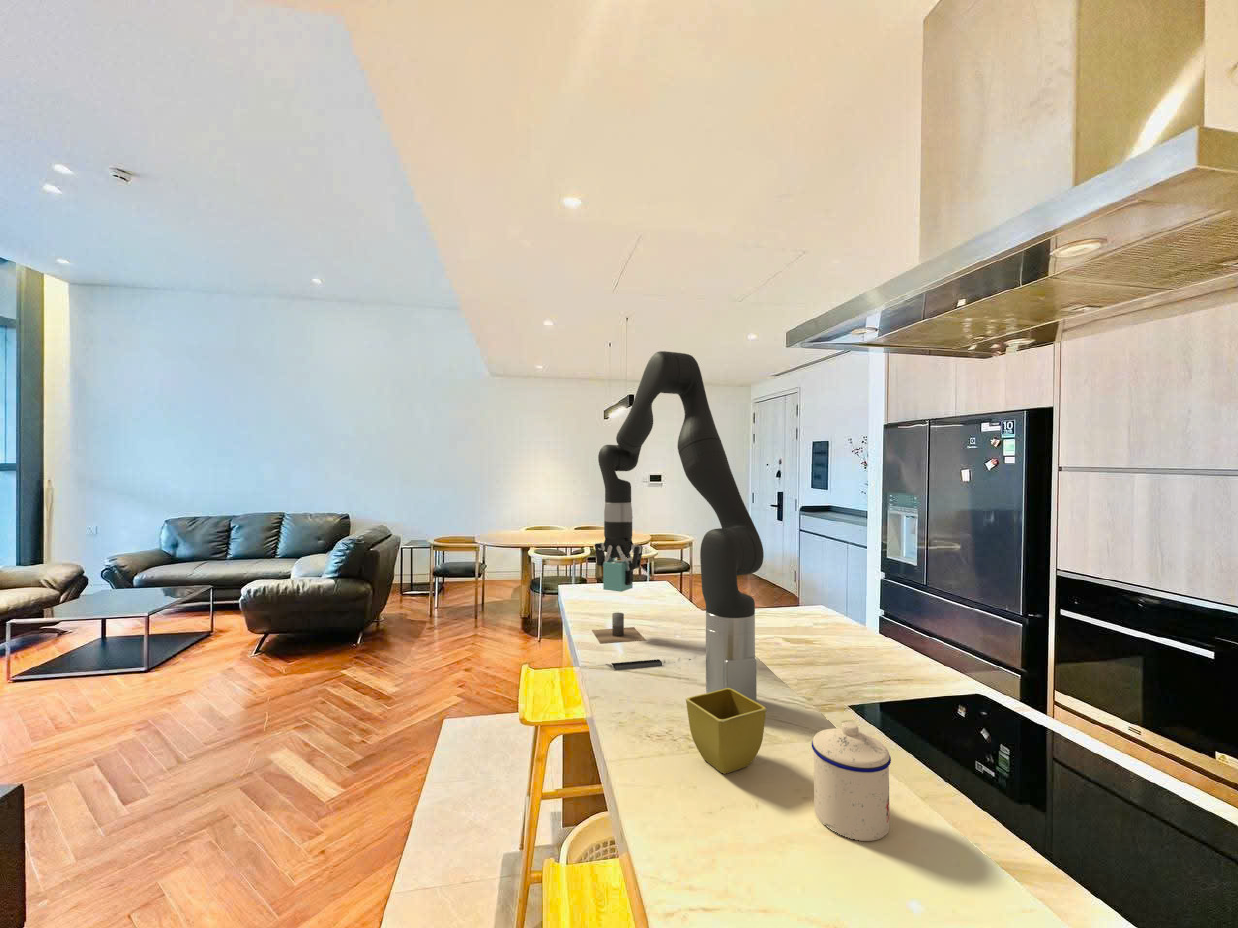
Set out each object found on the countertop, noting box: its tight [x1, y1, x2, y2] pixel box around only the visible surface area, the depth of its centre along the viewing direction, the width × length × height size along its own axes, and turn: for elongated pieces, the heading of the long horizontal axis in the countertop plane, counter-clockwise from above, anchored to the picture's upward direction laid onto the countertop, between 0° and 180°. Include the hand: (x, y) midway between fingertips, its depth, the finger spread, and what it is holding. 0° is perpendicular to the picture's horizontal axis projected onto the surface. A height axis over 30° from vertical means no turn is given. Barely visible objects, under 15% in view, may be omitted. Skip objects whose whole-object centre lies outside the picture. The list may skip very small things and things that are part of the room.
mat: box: [610, 658, 663, 671], centre depth 122 cm, size 11×11×1 cm
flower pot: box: [685, 688, 767, 775], centre depth 78 cm, size 9×9×9 cm
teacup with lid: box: [811, 721, 892, 842], centre depth 66 cm, size 12×9×12 cm
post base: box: [591, 612, 647, 645], centre depth 136 cm, size 12×12×7 cm
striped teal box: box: [602, 559, 634, 593], centre depth 137 cm, size 6×6×7 cm
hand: (618, 583), depth 137 cm, fingers closed on striped teal box, 5 cm apart
